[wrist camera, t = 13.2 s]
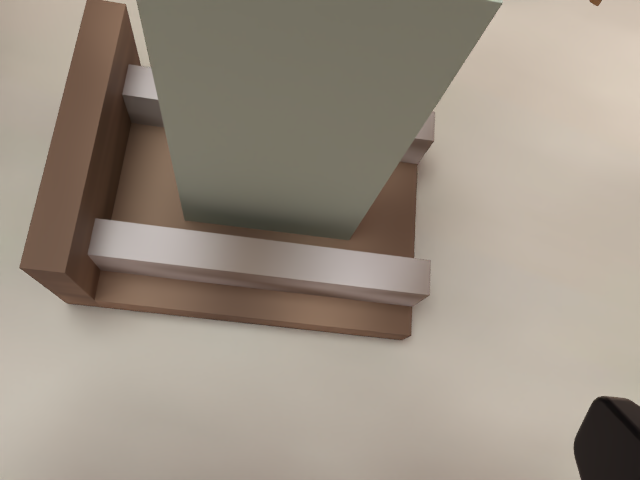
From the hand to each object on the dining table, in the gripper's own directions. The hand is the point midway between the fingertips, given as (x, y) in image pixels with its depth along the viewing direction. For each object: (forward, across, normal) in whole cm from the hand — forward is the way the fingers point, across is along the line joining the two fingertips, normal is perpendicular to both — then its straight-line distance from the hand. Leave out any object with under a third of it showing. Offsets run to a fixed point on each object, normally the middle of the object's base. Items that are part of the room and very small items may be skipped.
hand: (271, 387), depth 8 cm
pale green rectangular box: (+14, 0, +3) cm, 15 cm away
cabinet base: (+15, 0, +4) cm, 16 cm away
